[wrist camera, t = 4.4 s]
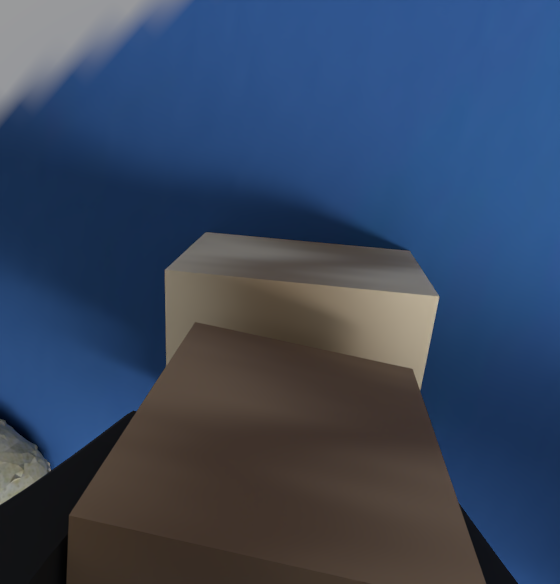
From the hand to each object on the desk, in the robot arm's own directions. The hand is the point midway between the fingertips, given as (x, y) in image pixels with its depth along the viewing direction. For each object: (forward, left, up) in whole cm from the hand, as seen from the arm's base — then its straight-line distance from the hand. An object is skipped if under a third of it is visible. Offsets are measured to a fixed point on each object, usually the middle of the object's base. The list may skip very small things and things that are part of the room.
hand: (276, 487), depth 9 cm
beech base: (0, 0, -7) cm, 7 cm away
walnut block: (0, 0, -2) cm, 2 cm away
